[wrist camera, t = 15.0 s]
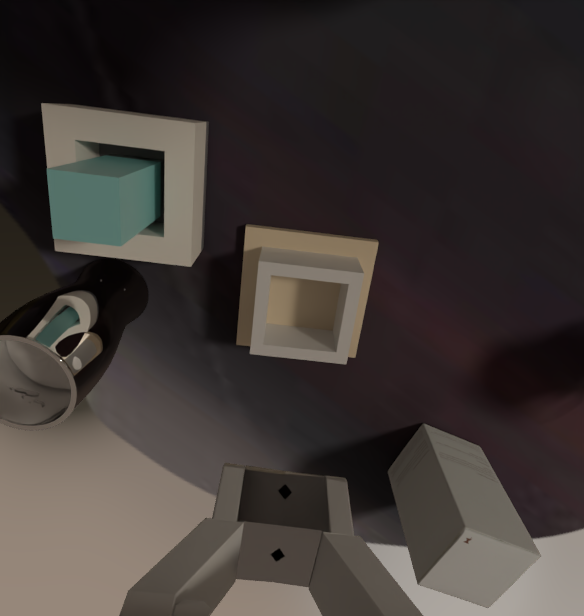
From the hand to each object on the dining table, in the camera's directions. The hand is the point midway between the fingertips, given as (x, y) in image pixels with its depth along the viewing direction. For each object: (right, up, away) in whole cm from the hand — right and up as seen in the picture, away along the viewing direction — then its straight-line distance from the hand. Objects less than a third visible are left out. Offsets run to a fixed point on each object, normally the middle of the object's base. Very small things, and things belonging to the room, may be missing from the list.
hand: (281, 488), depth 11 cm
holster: (+1, +6, +29) cm, 29 cm away
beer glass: (-16, +6, +29) cm, 33 cm away
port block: (-12, +15, +25) cm, 31 cm away
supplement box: (+15, -11, +36) cm, 41 cm away
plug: (-12, +14, +24) cm, 30 cm away
